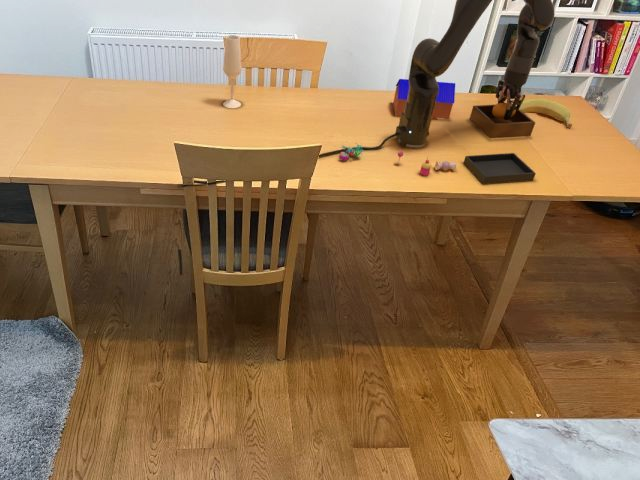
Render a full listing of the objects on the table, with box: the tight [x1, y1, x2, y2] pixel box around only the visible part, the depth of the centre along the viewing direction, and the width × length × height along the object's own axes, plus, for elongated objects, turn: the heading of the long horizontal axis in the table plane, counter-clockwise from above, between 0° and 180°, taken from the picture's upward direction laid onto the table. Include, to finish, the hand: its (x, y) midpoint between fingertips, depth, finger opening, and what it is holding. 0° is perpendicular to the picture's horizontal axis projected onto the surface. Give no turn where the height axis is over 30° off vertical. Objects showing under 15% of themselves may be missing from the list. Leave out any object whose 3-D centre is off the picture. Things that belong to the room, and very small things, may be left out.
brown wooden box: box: [469, 104, 536, 139], centre depth 208 cm, size 16×16×6 cm
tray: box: [463, 152, 536, 185], centre depth 185 cm, size 17×13×3 cm
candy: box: [397, 150, 457, 176], centre depth 183 cm, size 18×8×6 cm, turn 91°
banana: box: [516, 98, 573, 129], centre depth 217 cm, size 14×6×20 cm
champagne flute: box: [222, 34, 243, 109], centre depth 209 cm, size 7×7×24 cm
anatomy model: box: [339, 142, 364, 161], centre depth 188 cm, size 5×8×7 cm
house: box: [392, 78, 456, 120], centre depth 215 cm, size 12×20×12 cm, turn 84°
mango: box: [492, 102, 516, 118], centre depth 205 cm, size 8×5×5 cm, turn 101°
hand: (502, 115), depth 207 cm, fingers closed on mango, 5 cm apart
